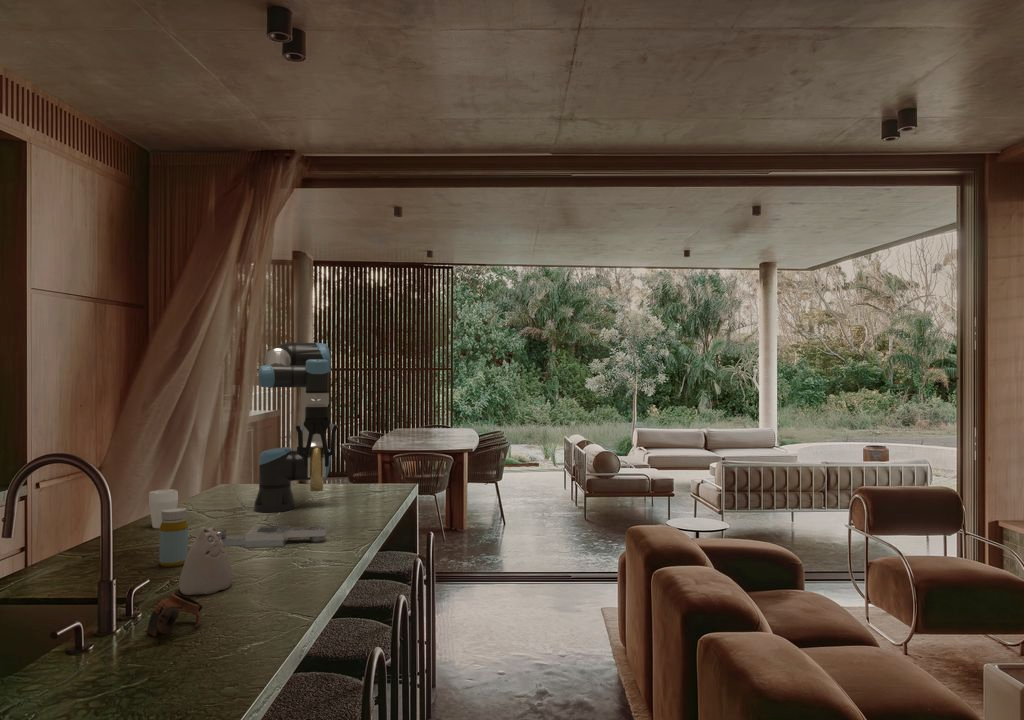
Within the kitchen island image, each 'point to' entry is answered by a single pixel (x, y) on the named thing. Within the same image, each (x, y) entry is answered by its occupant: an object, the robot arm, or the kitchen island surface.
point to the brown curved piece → (172, 613)
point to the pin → (316, 469)
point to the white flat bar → (273, 535)
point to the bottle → (173, 537)
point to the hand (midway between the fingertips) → (316, 476)
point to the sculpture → (206, 565)
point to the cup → (161, 504)
